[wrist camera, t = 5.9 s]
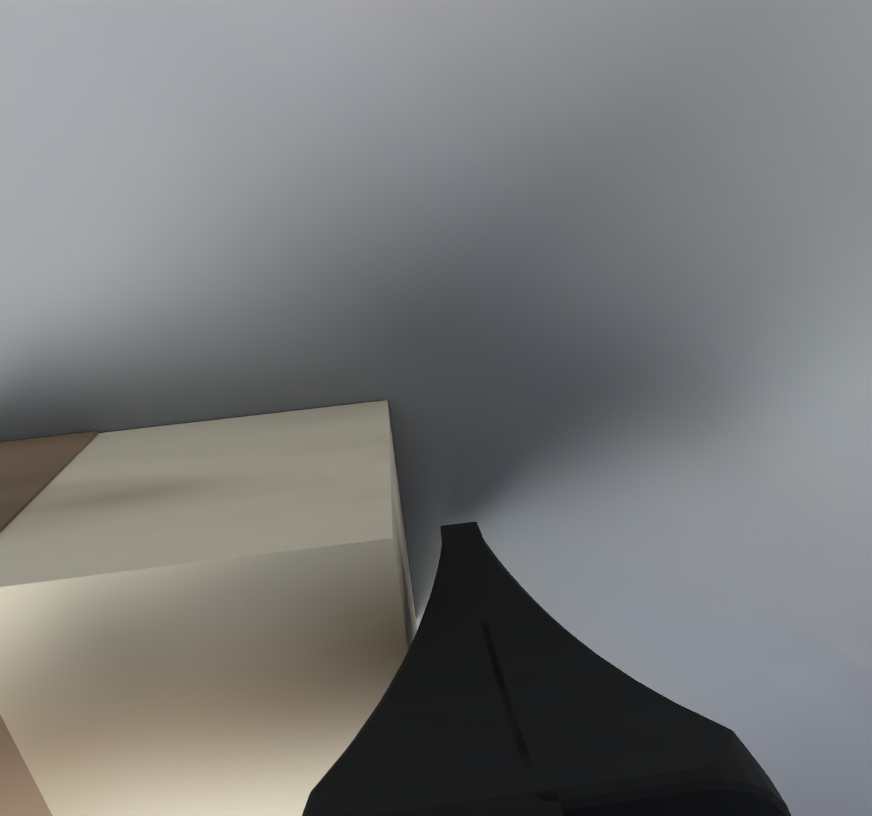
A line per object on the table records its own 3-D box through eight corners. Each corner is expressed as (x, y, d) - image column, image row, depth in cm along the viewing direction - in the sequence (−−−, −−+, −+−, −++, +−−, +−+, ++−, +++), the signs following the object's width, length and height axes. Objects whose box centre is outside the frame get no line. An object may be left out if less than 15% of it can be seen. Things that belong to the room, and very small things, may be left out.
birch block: (416, 620, 15) (432, 823, 11) (173, 652, 15) (82, 874, 10) (387, 399, 13) (392, 538, 8) (98, 433, 13) (-62, 594, 8)
